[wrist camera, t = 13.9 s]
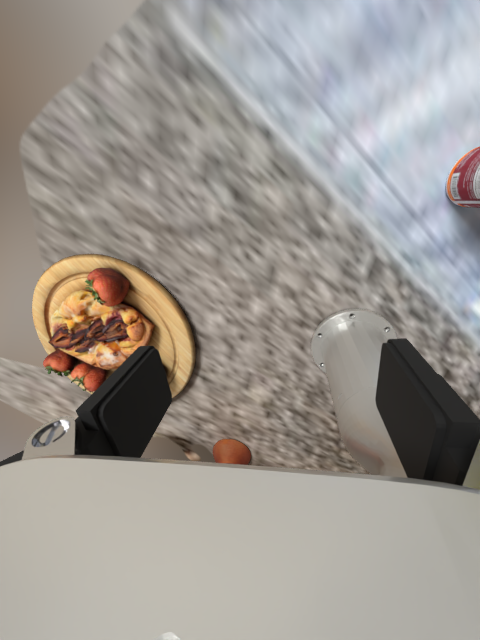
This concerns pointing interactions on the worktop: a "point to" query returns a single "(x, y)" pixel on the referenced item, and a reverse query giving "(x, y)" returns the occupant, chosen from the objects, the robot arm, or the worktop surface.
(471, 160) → the pill bottle
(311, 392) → the worktop surface
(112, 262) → the wooden plate with food
